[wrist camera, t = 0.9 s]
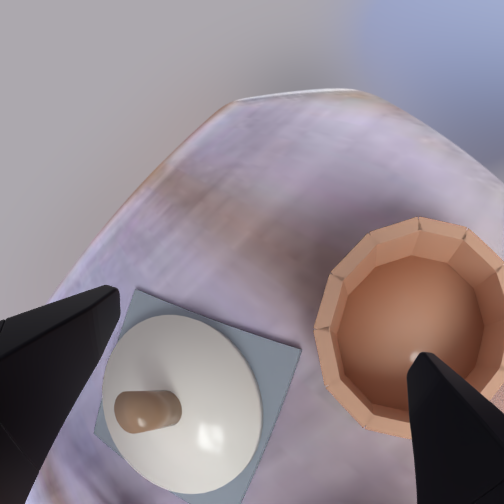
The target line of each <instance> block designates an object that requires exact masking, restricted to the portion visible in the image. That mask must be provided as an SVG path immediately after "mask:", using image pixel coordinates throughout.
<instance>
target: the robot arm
mask: <svg viewBox="0 0 504 504" xmlns="http://www.w3.org/2000/svg"><path fill="white" fill-rule="evenodd" d="M119 318H120V294H119V290H118V289H117V288H115V287H112V286H109V285H103V286H100V287H97V288H94V289H91V290H88V291H85V292H82V293H79V294H76V295H74V296H71V297H68V298H65V299H62V300H59V301H56V302H53V303H50V304H47V305H44V306H42V307H38V308H36V309H33V310H30V311H27V312H24V313H21V314H18V315H16V316H13V317H10V318H7V319H6V320H1V321H0V504H25V502H26V499H27V497H28V495H29V493H30V490H31V488H32V486H33V484H34V482H35V480H36V477H37V475H38V473H39V470H40V469H41V467H42V465H43V462H44V460H45V458H46V456H47V454H48V452H49V450H50V448H51V447H52V445H53V443H54V441H55V439H56V437H57V435H58V433H59V431H60V429H61V427H62V426H63V424H64V422H65V420H66V418H67V416H68V414H69V413H70V411H71V409H72V407H73V405H74V404H75V402H76V400H77V398H78V397H79V395H80V393H81V391H82V390H83V388H84V386H85V384H86V383H87V381H88V379H89V378H90V376H91V374H92V372H93V371H94V369H95V367H96V366H97V364H98V362H99V360H100V359H101V356H102V354H103V352H104V350H105V348H106V346H107V344H108V341H109V339H110V337H111V335H112V333H113V331H114V329H115V327H116V325H117V322H118V320H119ZM406 379H407V392H408V408H409V421H410V429H411V437H412V445H413V453H414V463H415V474H416V488H417V504H504V413H502V412H501V411H500V410H499V409H498V408H497V407H496V406H495V405H493V404H492V403H491V402H490V401H489V400H488V399H487V398H485V397H484V396H483V395H482V394H481V393H480V392H478V391H477V390H476V389H475V388H474V387H473V386H472V385H470V384H469V383H468V382H467V381H466V380H464V379H463V378H462V377H461V376H460V375H459V374H457V373H456V372H455V371H454V370H453V369H451V368H450V367H449V366H448V365H447V364H446V363H444V362H443V361H442V360H441V359H440V358H438V357H437V356H436V355H435V354H433V353H431V352H421V353H419V354H418V356H417V357H416V359H415V361H414V362H413V364H412V365H411V367H410V368H409V370H408V372H407V377H406Z"/></svg>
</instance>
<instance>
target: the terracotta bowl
mask: <svg viewBox="0 0 504 504" xmlns="http://www.w3.org/2000/svg"><path fill="white" fill-rule="evenodd" d="M503 264H504V261H503V260H502V259H501V258H500V257H499V256H498V255H497V254H496V253H495V252H494V251H493V250H492V249H491V248H490V247H488V246H487V245H486V244H485V243H484V242H483V241H482V240H481V239H480V238H479V237H478V236H477V235H476V234H475V233H473V232H472V231H471V230H470V229H469V228H468V230H467V227H464V226H460V225H456V224H451V223H447V222H443V221H438V220H433V219H429V218H424V217H419V219H418V217H414V218H411V219H408V220H405V221H402V222H399V223H396V224H393V225H390V226H386V227H383V228H380V229H377V230H374V231H371V232H369V234H368V233H367V234H366V235H365V236H364V237H363V239H362V240H361V241H360V242H359V243H358V244H357V245H356V246H355V247H354V248H353V249H352V250H351V251H350V252H349V253H348V254H347V255H346V256H345V258H344V259H343V260H342V261H341V262H340V263H339V264H338V265H337V266H336V267H335V268H334V269H333V270H332V271H331V274H329V277H328V281H327V284H326V288H325V291H324V294H323V298H322V301H321V305H320V308H319V311H318V315H317V318H316V321H315V324H314V327H313V328H314V329H316V330H313V332H314V336H315V341H316V346H317V350H318V355H319V360H320V365H321V370H322V375H323V380H324V385H325V386H326V385H328V386H327V387H326V389H327V390H328V391H329V392H330V393H331V394H332V395H333V396H334V397H335V398H336V400H337V401H338V402H339V403H340V404H341V405H342V406H343V407H344V408H345V409H346V410H347V411H348V412H349V413H350V415H351V416H352V417H353V418H354V419H355V420H356V421H357V422H358V423H359V424H360V425H361V426H362V427H365V429H367V430H371V431H375V432H379V433H384V434H388V435H393V436H397V437H402V438H407V439H412V437H411V429H410V421H409V408H408V392H407V379H406V377H407V372H408V370H409V368H410V367H411V365H412V364H413V362H414V361H415V359H416V357H417V356H418V354H419V353H421V352H431V353H433V354H435V355H436V356H437V357H438V358H440V359H441V360H442V361H443V362H444V363H446V364H447V365H448V366H449V367H450V368H451V369H453V370H454V371H455V372H456V373H457V374H459V375H460V376H461V377H462V378H463V379H464V380H466V381H467V382H468V383H469V384H470V385H472V386H473V387H474V388H475V389H476V390H477V391H478V392H480V393H481V394H482V395H483V396H484V397H485V398H487V399H488V400H489V401H490V400H491V398H492V397H493V396H494V395H495V393H496V392H497V391H498V390H499V388H500V387H501V386H502V384H503V383H504V265H503Z"/></svg>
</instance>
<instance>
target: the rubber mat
mask: <svg viewBox="0 0 504 504" xmlns="http://www.w3.org/2000/svg"><path fill="white" fill-rule="evenodd" d="M161 315H179V316H185V317H189V318H192V319H195V320H199V321H202V322H204V323H206V324H208V325H210V326H212V327H214V328H215V329H217V330H219V331H220V332H222V333H223V334H224V335H225V336H226V337H227V338H229V339H230V340H231V341H232V342H233V343H234V344H235V345H236V347H237V348H238V349H239V350H240V351H241V353H242V354H243V355H244V357H245V358H246V360H247V361H248V363H249V365H250V367H251V369H252V371H253V372H254V375H255V377H256V380H257V383H258V385H259V389H260V393H261V397H262V404H263V429H262V435H261V439H260V443H259V446H258V449H257V451H256V453H255V455H254V457H253V459H252V460H251V462H250V463H249V464H248V466H247V467H246V468H245V469H244V470H243V471H242V472H241V473H240V474H239V475H238V476H237V477H236V478H234V479H233V480H232V481H230V482H229V483H227V484H226V485H224V486H222V487H220V488H218V489H216V490H213V491H209V492H206V493H199V494H183V493H177V492H172V491H170V492H171V493H173V494H174V495H176V496H178V497H179V498H181V499H182V500H184V501H186V502H187V503H189V504H241V502H242V500H243V498H244V495H245V493H246V491H247V489H248V487H249V484H250V482H251V480H252V478H253V476H254V473H255V471H256V469H257V466H258V464H259V462H260V459H261V457H262V455H263V452H264V450H265V448H266V445H267V443H268V440H269V438H270V435H271V433H272V430H273V428H274V425H275V423H276V420H277V418H278V415H279V413H280V410H281V407H282V405H283V402H284V399H285V397H286V394H287V391H288V388H289V386H290V383H291V380H292V377H293V374H294V372H295V369H296V366H297V363H298V360H299V357H300V354H301V351H302V350H301V349H298V348H295V347H291V346H288V345H285V344H282V343H279V342H276V341H273V340H270V339H267V338H264V337H261V336H258V335H255V334H252V333H249V332H246V331H243V330H240V329H237V328H234V327H232V326H229V325H226V324H223V323H220V322H218V321H215V320H212V319H210V318H207V317H204V316H202V315H199V314H196V313H194V312H191V311H189V310H186V309H183V308H181V307H178V306H176V305H173V304H171V303H168V302H166V301H163V300H161V299H159V298H156V297H154V296H151V295H149V294H147V293H144V292H142V291H139V290H137V289H135V291H134V294H133V297H132V300H131V303H130V306H129V309H128V312H127V315H126V318H125V321H124V324H123V327H122V330H121V333H120V336H119V339H118V341H119V340H120V339H121V338H122V337H123V335H124V334H125V333H126V332H128V331H129V330H130V329H131V328H132V327H134V326H135V325H136V324H138V323H140V322H142V321H144V320H146V319H149V318H152V317H155V316H161ZM94 434H95V435H96V436H97V437H98V438H99V439H100V440H102V441H103V442H104V443H105V444H106V445H107V446H109V447H110V448H111V449H112V450H113V451H115V452H116V453H117V454H118V455H119V456H121V457H122V458H123V459H124V457H123V456H122V455H121V453H120V452H119V450H118V448H117V447H116V445H115V443H114V441H113V439H112V437H111V435H110V432H109V430H108V427H107V423H106V420H105V415H104V410H103V401H102V400H101V404H100V408H99V412H98V416H97V421H96V425H95V429H94ZM124 460H125V459H124ZM168 491H169V490H168Z"/></svg>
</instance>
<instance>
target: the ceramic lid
mask: <svg viewBox="0 0 504 504" xmlns="http://www.w3.org/2000/svg"><path fill="white" fill-rule="evenodd" d="M102 401H103V410H104V415H105V420H106V423H107V427H108V430H109V432H110V435H111V437H112V439H113V441H114V443H115V445H116V447H117V448H118V450H119V452H120V453H121V455H122V456H123V457H124V459H125V460H126V461H127V462H128V464H129V465H130V466H131V467H132V468H133V469H134V470H135V471H136V472H138V473H139V474H140V475H141V476H143V477H144V478H145V479H147V480H148V481H150V482H151V483H153V484H155V485H157V486H159V487H161V488H163V489H166V490H169V491H172V492H177V493H183V494H199V493H206V492H209V491H213V490H216V489H218V488H220V487H222V486H224V485H226V484H227V483H229V482H230V481H232V480H233V479H234V478H236V477H237V476H238V475H239V474H240V473H241V472H242V471H243V470H244V469H245V468H246V467H247V466H248V464H249V463H250V462H251V460H252V459H253V457H254V455H255V453H256V451H257V449H258V446H259V443H260V439H261V435H262V429H263V404H262V397H261V393H260V389H259V385H258V383H257V380H256V377H255V375H254V372H253V371H252V369H251V367H250V365H249V363H248V361H247V360H246V358H245V357H244V355H243V354H242V353H241V351H240V350H239V349H238V348H237V347H236V345H235V344H234V343H233V342H232V341H231V340H230V339H229V338H227V337H226V336H225V335H224V334H223V333H222V332H220V331H219V330H217V329H215V328H214V327H212V326H210V325H208V324H206V323H204V322H202V321H199V320H195V319H192V318H189V317H185V316H179V315H161V316H155V317H152V318H149V319H146V320H144V321H142V322H140V323H138V324H136V325H135V326H134V327H132V328H131V329H130V330H129V331H128V332H126V333H125V334H124V335H123V337H122V338H121V339H120V340H119V341H118V343H117V344H116V346H115V348H114V349H113V351H112V353H111V355H110V357H109V360H108V363H107V365H106V369H105V373H104V378H103V386H102Z"/></svg>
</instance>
